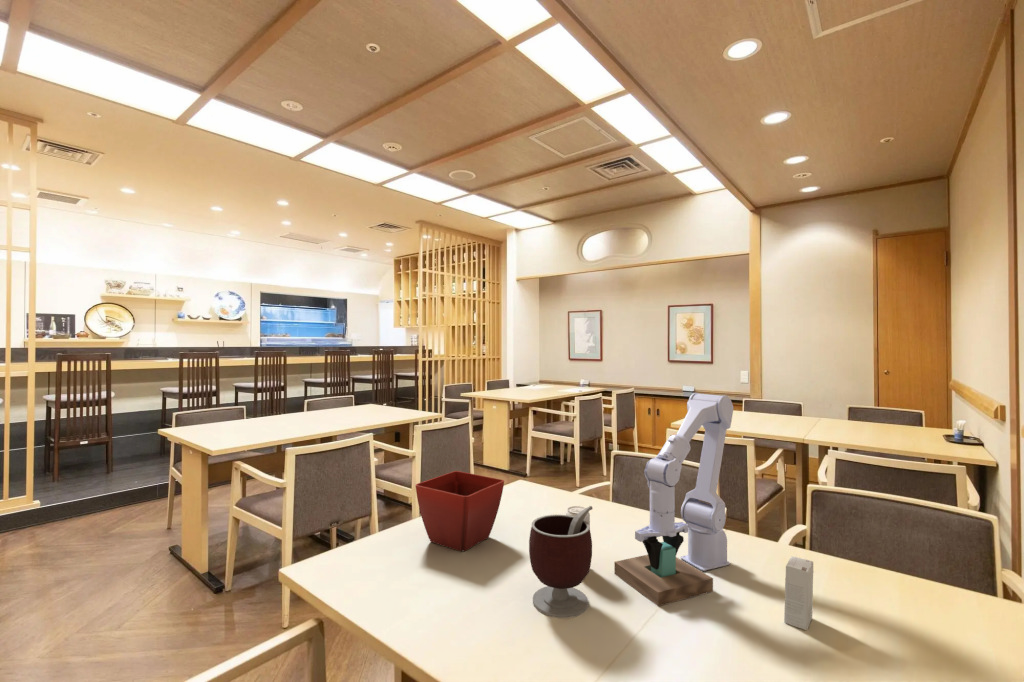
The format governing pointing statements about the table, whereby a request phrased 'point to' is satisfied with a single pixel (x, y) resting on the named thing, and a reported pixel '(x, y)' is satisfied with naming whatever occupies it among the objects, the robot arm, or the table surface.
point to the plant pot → (459, 508)
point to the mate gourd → (560, 562)
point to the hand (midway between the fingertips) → (662, 566)
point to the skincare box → (798, 592)
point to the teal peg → (666, 561)
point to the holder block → (663, 580)
